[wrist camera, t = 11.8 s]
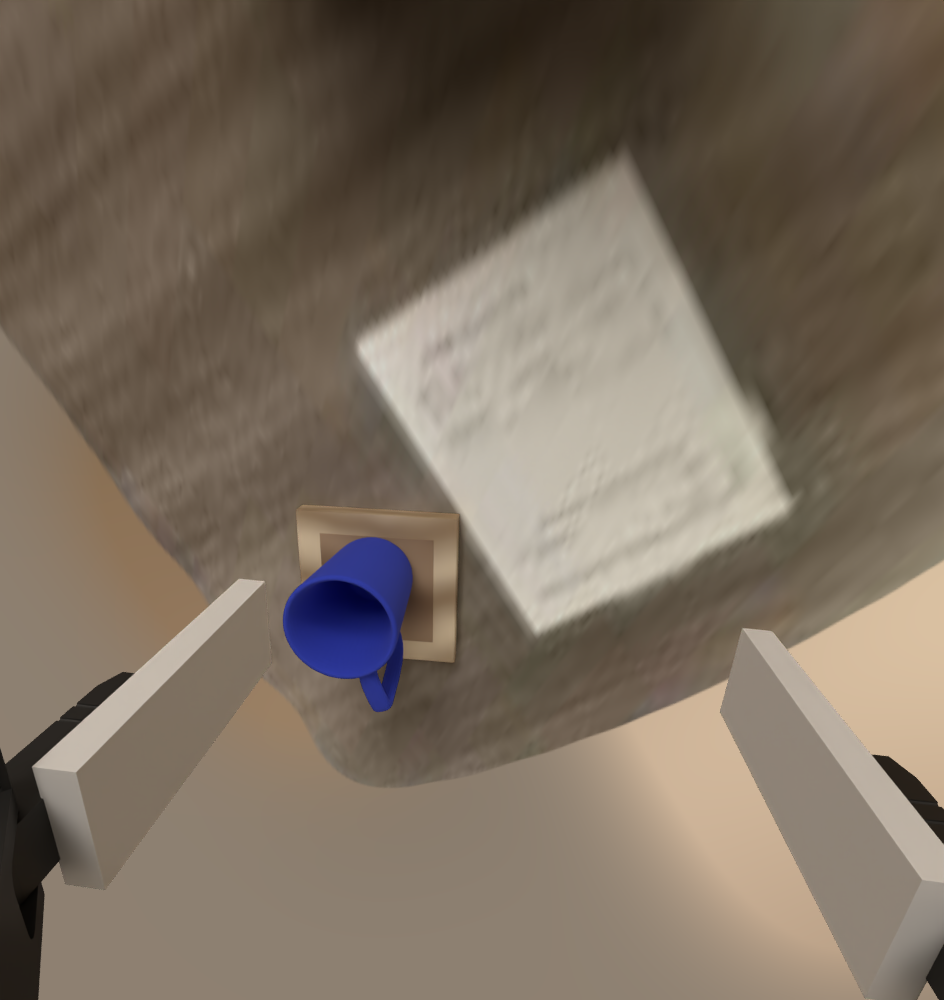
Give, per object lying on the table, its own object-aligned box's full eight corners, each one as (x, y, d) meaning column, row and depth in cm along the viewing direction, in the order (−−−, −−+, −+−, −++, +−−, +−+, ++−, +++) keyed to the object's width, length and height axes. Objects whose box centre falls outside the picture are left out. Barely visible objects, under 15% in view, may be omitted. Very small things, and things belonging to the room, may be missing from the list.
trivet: (302, 504, 46) (295, 510, 45) (459, 513, 45) (457, 519, 44) (312, 641, 50) (306, 651, 49) (456, 653, 49) (454, 663, 48)
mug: (367, 655, 49) (329, 732, 39) (316, 539, 45) (262, 592, 36) (449, 635, 47) (431, 710, 38) (404, 514, 44) (371, 563, 34)
